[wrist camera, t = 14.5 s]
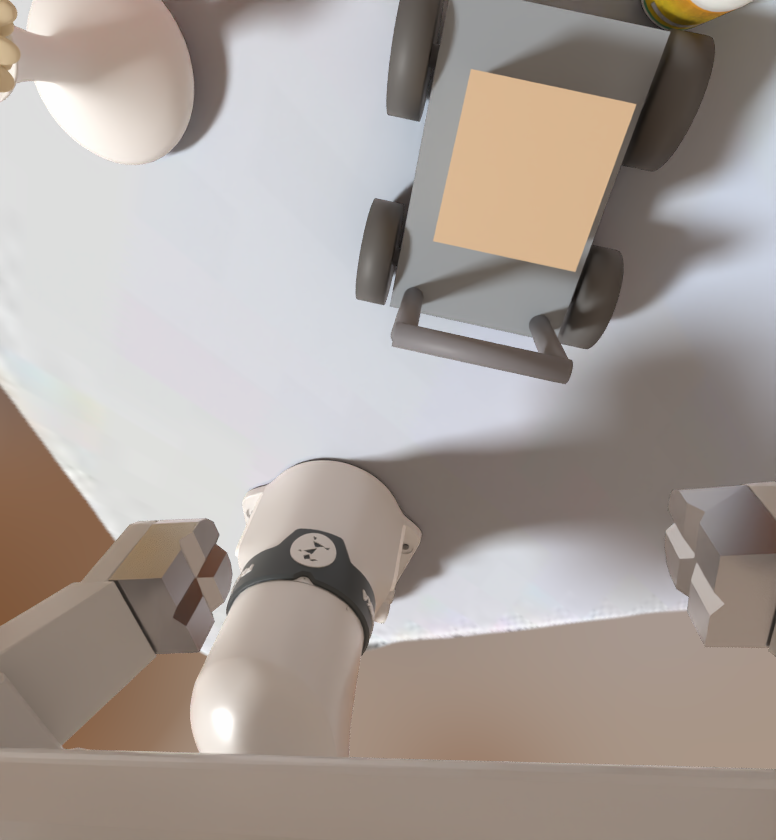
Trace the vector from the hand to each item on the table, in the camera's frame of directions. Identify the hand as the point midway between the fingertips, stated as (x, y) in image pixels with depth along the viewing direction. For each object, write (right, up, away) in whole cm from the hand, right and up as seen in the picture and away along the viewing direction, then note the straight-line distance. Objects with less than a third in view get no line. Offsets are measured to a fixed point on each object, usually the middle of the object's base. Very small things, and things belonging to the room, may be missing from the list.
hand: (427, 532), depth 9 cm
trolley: (+8, +19, +28) cm, 34 cm away
